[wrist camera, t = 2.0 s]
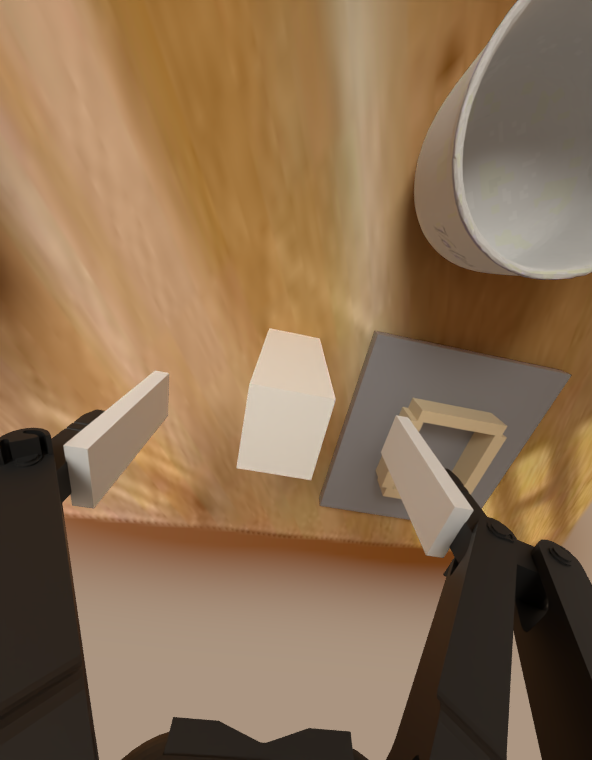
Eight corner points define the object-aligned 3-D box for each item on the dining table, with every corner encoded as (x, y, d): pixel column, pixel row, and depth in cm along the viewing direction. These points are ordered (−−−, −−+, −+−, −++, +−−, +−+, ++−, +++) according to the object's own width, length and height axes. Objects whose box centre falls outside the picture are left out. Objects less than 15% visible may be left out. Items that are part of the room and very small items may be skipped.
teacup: (381, 266, 20) (430, 275, 13) (414, 53, 15) (519, -124, 8) (575, 274, 20) (734, 287, 13) (664, 66, 16) (986, -97, 8)
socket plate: (374, 330, 22) (385, 341, 19) (560, 370, 23) (596, 385, 20) (319, 497, 29) (321, 523, 26) (462, 520, 30) (479, 547, 28)
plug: (269, 328, 22) (249, 383, 13) (319, 338, 22) (335, 399, 13) (259, 385, 24) (236, 468, 15) (305, 393, 24) (310, 480, 15)
